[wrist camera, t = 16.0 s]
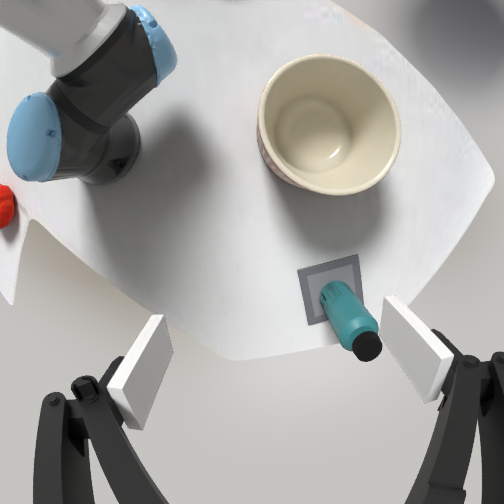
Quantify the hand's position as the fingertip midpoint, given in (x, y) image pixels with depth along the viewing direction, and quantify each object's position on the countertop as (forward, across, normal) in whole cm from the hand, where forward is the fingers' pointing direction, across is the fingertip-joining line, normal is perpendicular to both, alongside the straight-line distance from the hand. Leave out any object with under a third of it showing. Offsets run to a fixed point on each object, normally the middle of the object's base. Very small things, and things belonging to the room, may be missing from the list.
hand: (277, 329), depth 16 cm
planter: (+35, +10, +15) cm, 39 cm away
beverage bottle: (+34, +13, -14) cm, 39 cm away
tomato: (+35, -61, +12) cm, 71 cm away
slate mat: (+35, +13, -14) cm, 40 cm away
